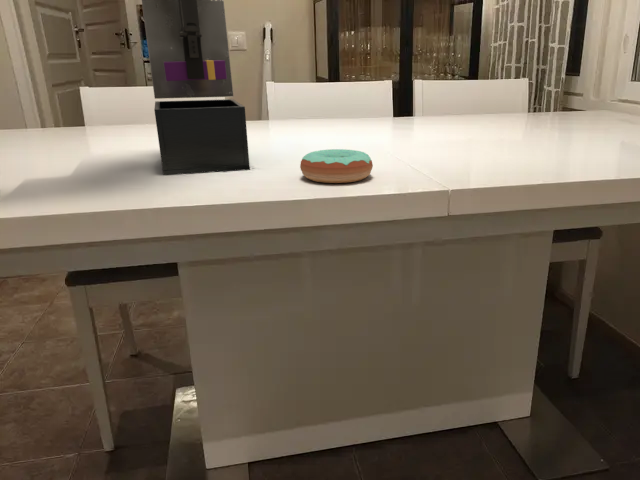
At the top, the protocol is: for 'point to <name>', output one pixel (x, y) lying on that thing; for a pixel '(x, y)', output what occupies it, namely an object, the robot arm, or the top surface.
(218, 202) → the top surface
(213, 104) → the trash bin
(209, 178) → the top surface
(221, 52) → the bin lid
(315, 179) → the donut
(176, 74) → the chocolate bar
